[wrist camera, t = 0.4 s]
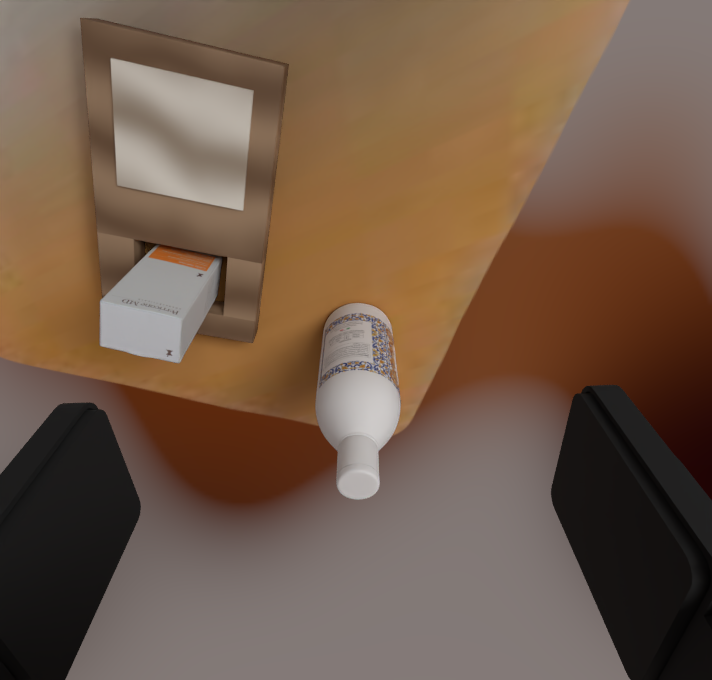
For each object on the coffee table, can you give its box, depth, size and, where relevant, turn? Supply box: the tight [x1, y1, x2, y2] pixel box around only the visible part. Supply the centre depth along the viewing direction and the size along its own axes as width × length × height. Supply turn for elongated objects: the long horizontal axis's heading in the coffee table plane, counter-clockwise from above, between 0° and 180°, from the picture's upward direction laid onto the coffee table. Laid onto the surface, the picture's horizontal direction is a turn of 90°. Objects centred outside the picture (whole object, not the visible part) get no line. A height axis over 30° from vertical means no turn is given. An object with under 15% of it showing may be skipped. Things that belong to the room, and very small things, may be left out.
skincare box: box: [100, 244, 222, 363], centre depth 41 cm, size 6×4×12 cm
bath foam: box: [316, 303, 401, 499], centre depth 41 cm, size 7×7×20 cm
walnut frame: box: [80, 18, 289, 343], centre depth 41 cm, size 24×14×3 cm, turn 168°
